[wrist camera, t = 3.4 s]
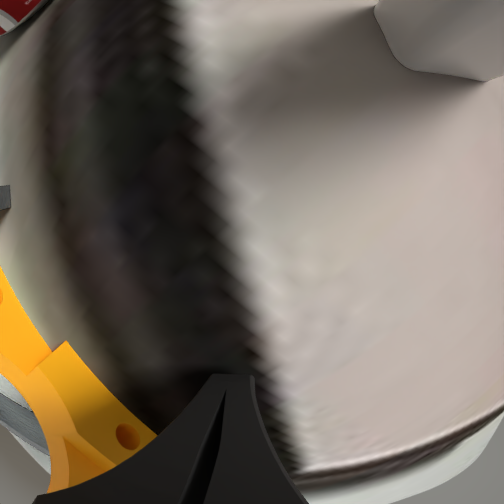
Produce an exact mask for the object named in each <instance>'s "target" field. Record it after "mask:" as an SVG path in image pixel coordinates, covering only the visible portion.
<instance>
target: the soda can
mask: <svg viewBox="0 0 504 504" xmlns="http://www.w3.org/2000/svg"><path fill="white" fill-rule="evenodd" d="M48 1H49V0H0V35H1V36H2V35H5V34H8V33H9V32H11V31H13V30H14V29H15V28H17V27H18V26H19V25H20V24H22V23H23V22H25V21H27V20H28V19H29V18H30V17H32V16H33V15H34V14H35V13H36V12H37V11H39V10H40V9H41V8H42V7H43V6H44V5H45V4H46V3H47V2H48Z"/></svg>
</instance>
